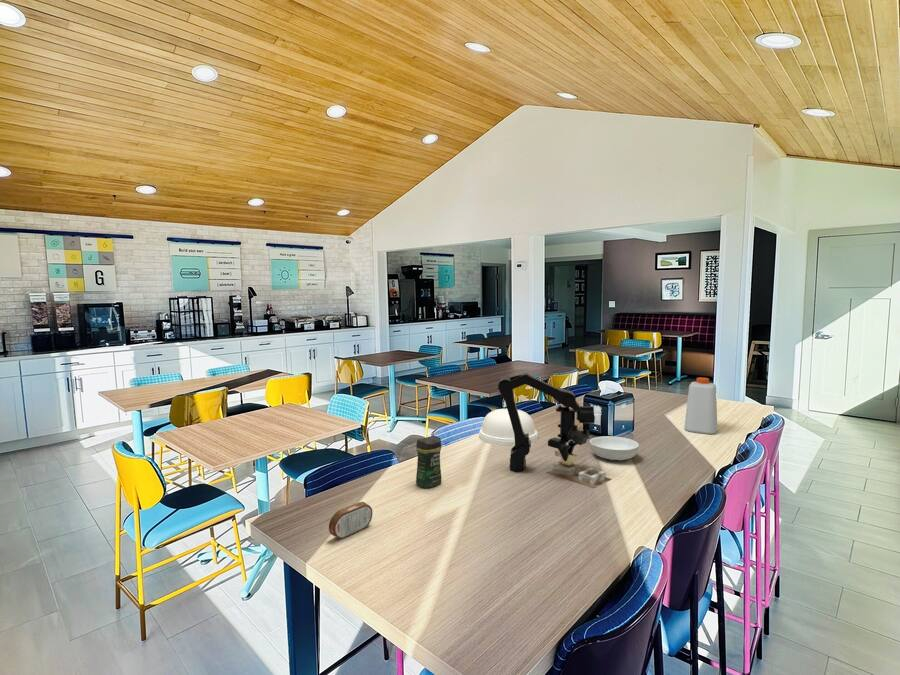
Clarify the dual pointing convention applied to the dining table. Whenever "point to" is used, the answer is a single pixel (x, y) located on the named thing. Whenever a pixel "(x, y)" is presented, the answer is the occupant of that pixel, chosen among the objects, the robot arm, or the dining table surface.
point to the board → (580, 475)
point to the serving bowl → (614, 447)
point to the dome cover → (505, 428)
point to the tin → (350, 520)
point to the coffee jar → (428, 462)
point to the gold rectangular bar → (570, 458)
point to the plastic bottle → (701, 407)
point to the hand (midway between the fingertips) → (566, 460)
